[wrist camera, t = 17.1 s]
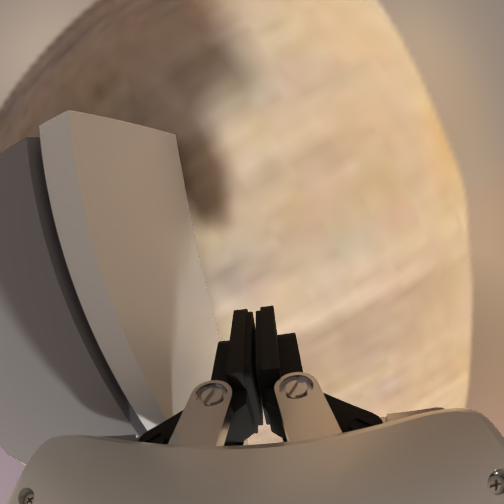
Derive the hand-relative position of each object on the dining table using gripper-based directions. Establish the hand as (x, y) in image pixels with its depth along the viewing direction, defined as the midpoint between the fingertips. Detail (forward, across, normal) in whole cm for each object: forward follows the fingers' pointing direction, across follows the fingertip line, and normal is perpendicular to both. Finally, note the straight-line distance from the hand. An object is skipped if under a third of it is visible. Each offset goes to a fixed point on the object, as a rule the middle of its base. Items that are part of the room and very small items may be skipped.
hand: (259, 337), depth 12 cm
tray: (+4, +12, 0) cm, 13 cm away
